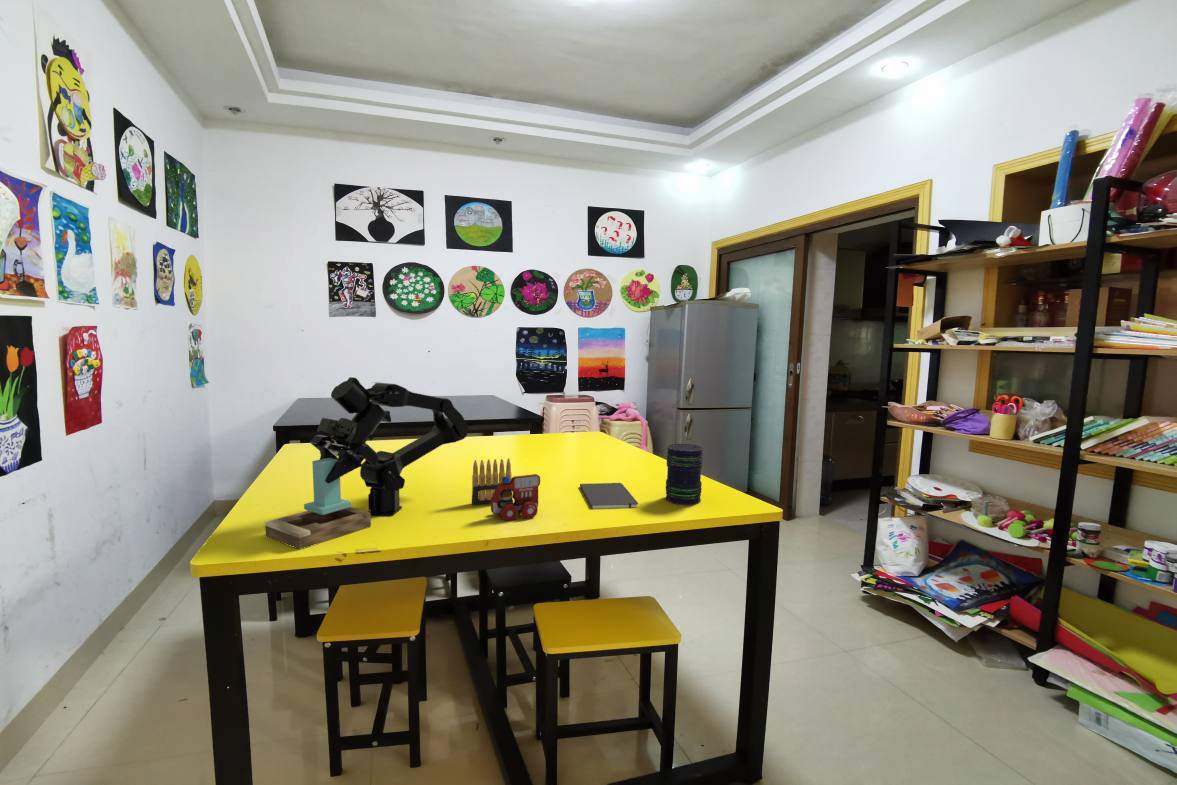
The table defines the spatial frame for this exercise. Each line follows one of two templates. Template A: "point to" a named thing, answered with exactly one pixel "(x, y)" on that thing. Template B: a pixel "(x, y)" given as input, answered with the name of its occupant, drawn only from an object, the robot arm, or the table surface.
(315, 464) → the peg
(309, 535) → the keyhole plate
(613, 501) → the notebook
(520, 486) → the toy fire truck
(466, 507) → the table surface
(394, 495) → the robot arm
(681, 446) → the storage jar
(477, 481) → the ammunition clip
